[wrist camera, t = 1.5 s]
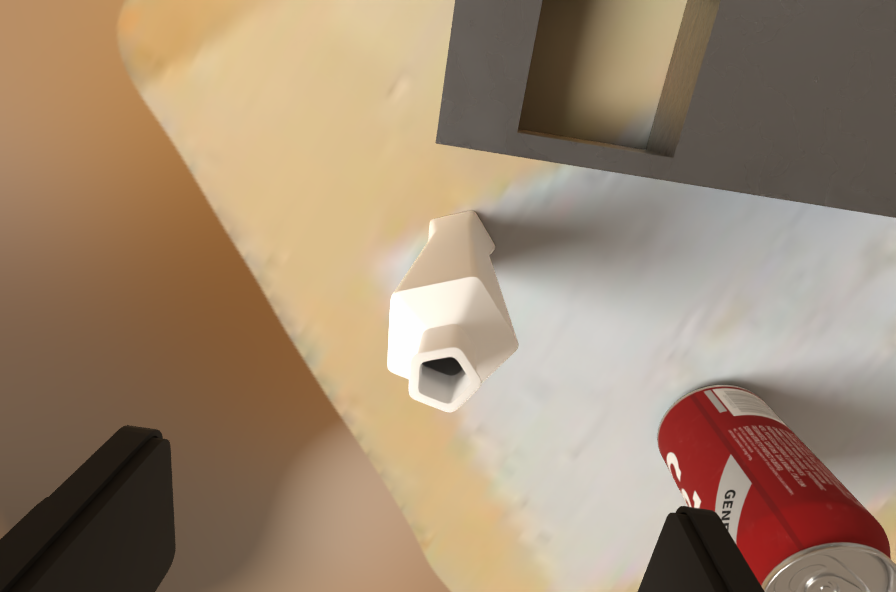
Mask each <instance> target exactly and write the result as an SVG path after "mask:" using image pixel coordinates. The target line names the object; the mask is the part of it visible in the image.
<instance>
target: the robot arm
mask: <svg viewBox="0 0 896 592" xmlns="http://www.w3.org/2000/svg"><path fill="white" fill-rule="evenodd" d="M171 470H172V469H171V450H170V442H169V441H168V440H167V439H163V438H162V434H161V432H160V431H159V430H156V429H150V428H142V427H136V426H129V425H127V426H123V427H122V428H120V429H119V430H118V431H117V432H116V433H115V434H114V435H113V436H112V437H111V438H110V439H109V440H108V441H107V442H105V443H104V444H103V445H102V446H101V447H100V448H99V449H98V450H97V451H96V452H95V453H94V454H93V455H92V456H91V457H90V458H89V459H88V460H87V461H86V462H85V463H84V464H83V465H82V466H80V467H79V468H78V469H77V470H76V471H75V472H74V473H73V474H72V475H71V476H70V477H69V478H68V479H67V480H66V481H65V482H64V483H63V484H62V485H61V486H60V487H58V488H57V489H56V490H55V492H53V493H52V494H51V495H50V496H49V497H47V498H45V499H44V500H43V501H41V502H40V503H39V504H37V505H36V506H35V507H34V508H33V509H32V510H31V511H30V512H29V513H28V514H27V515H26V516H25V517H24V518H22V519H21V521H19V522H18V523H17V524H16V525H15V526H14V527H13V528H12V529H11V530H10V531H9V532H8V533H7V534H6V535H5V536H4V537H3V538H1V539H0V592H155V591H156V589H157V588H158V586H159V585H160V583H161V581H162V580H163V578H164V577H165V575H166V573H167V572H168V570H169V568H170V566H171V564H172V562H173V558H174V554H175V529H174V508H173V489H172V471H171ZM638 592H765V591H764V590H763V588H762V586H761V585H760V583H759V581H758V580H757V578H756V576H755V575H754V573H753V571H752V570H751V568H750V567H749V565H748V563H747V562H746V560H745V558H744V557H743V555H742V553H741V552H740V550H739V548H738V547H737V545H736V543H735V542H734V540H733V538H732V537H731V535H730V533H729V532H728V530H727V528H726V527H725V525H724V523H723V522H722V520H721V518H720V517H719V516H718V514H717V513H716V512H714V511H713V510H707V509H701V508H694V507H687V506H681V507H679V508H678V509H677V511H676V513H670V514H669V515H668V516H667V518H666V521H665V523H664V526H663V528H662V531H661V533H660V536H659V539H658V541H657V544H656V546H655V549H654V551H653V554H652V557H651V559H650V562H649V564H648V567H647V569H646V572H645V574H644V577H643V580H642V582H641V585H640V587H639V590H638Z"/></svg>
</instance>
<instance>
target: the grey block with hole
mask: <svg viewBox="0 0 896 592" xmlns="http://www.w3.org/2000/svg"><path fill="white" fill-rule="evenodd" d="M541 6H542V0H455V7H454V14H453V21H452V28H451V36H450V43H449V50H448V57H447V65H446V72H445V79H444V87H443V94H442V101H441V108H440V116H439V123H438V130H437V137H436V143H437V144H443V145H450V146H456V147H462V148H468V149H474V150H481V151H487V152H493V153H499V154H505V155H511V156H518V157H524V158H530V159H536V160H542V161H548V162H555V163H561V164H567V165H573V166H579V167H586V168H592V169H598V170H604V171H610V172H616V173H623V174H629V175H635V176H641V177H647V178H654V179H660V180H666V181H672V182H678V183H684V184H691V185H697V186H703V187H709V188H715V189H722V190H728V191H734V192H740V193H746V194H752V195H759V196H765V197H771V198H777V199H783V200H790V201H796V202H802V203H808V204H814V205H820V206H827V207H833V208H839V209H845V210H851V211H857V212H864V213H870V214H876V215H882V216H888V217H895V218H896V0H688V1H687V4H686V8H685V11H684V15H683V19H682V22H681V26H680V29H679V33H678V36H677V40H676V44H675V47H674V51H673V54H672V58H671V62H670V65H669V69H668V72H667V76H666V79H665V83H664V87H663V90H662V94H661V97H660V101H659V104H658V108H657V112H656V115H655V119H654V122H653V126H652V130H651V133H650V137H649V140H648V144H647V147H646V150H645V149H638V148H632V147H626V146H620V145H614V144H608V143H601V142H595V141H589V140H583V139H577V138H571V137H564V136H558V135H552V134H546V133H540V132H534V131H527V130H521V129H518V126H519V121H520V116H521V110H522V105H523V100H524V95H525V89H526V84H527V79H528V74H529V68H530V63H531V58H532V53H533V48H534V42H535V37H536V32H537V27H538V21H539V16H540V11H541Z"/></svg>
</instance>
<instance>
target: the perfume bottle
mask: <svg viewBox="0 0 896 592" xmlns="http://www.w3.org/2000/svg"><path fill="white" fill-rule="evenodd" d="M494 250H495V245H494V243H493V241H492V239H491V238H490V236H489V234H488V232H487V231H486V229H485V227H484V226H483V224H482V222H481V221H480V219H479V217H478V215H477V214H476V213H475V212H474V211H466V212H462V213H457V214H453V215H448V216H444V217H439V218H435V219H432V220H431V221H430V227H429V241H428V242H427V244H426V245H425V247H424V248H423V250H422V251H421V253H420V254H419V256H418V257H417V259H416V260H415V262H414V263H413V265H412V266H411V268H410V269H409V271H408V272H407V274H406V275H405V277H404V278H403V280H402V281H401V283H400V284H399V286H398V287H397V289H396V290H395V292H394V293H393V295H392V296H391V300H390V320H389V340H388V361H387V365H388V369H389V370H390V371H391V372H392V373H394V374H397V375H399V376H402V377H404V378H407V379H409V395H410V396H411V397H412V398H413V399H415V400H417V401H419V402H422V403H424V404H427V405H429V406H432V407H435V408H437V409H440V410H442V411H445V412H454V411H455V410H457V409H458V408H459V407H460V406H461V405H462V404H463V403H465V402H466V401H467V400H468V399H469V398H470V397H471V396H472V395H473V394H474V393H475V392H476V391H477V390H478V389H479V388H480V386H481V384H482V383H483V382H484V381H485V380H486V379H487V378H488V377H489V376H490V375H491V374H492V373H493V372H494V371H495V370H496V369H497V368H498V367H499V366H500V365H501V364H503V363H504V362H505V361H506V360H507V359H508V358H509V357H510V356H511V355H512V354H513V353H514V352H515V351H516V350H517V348H518V341H517V338H516V335H515V332H514V329H513V326H512V323H511V320H510V317H509V314H508V311H507V308H506V305H505V302H504V299H503V296H502V292H501V289H500V286H499V283H498V280H497V277H496V274H495V271H494V268H493V265H492V262H491V259H490V254H491V253H492V252H493V251H494Z"/></svg>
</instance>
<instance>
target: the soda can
mask: <svg viewBox="0 0 896 592" xmlns="http://www.w3.org/2000/svg"><path fill="white" fill-rule="evenodd" d="M657 441H658V448H659V451H660V453H661V455H662V457H663V459H664V461H665V463H666V465H667V467H668V469H669V471H670V473H671V474H672V476H673V478H674V480H675V482H676V484H677V486H678V488H679V490H680V492H681V494H682V496H683V498H684V499H685V501H686V503H687V505H688V507H694V508H701V509H707V510H713V511H714V512H716V513H717V514H718V516H719V517H720V518H721V520H722V522H723V523H724V525H725V527H726V528H727V530H728V532H729V533H730V535H731V537H732V538H733V540H734V542H735V543H736V545H737V547H738V548H739V550H740V552H741V553H742V555H743V557H744V558H745V560H746V562H747V563H748V565H749V567H750V568H751V570H752V571H753V573H754V575H755V576H756V578H757V580H758V581H759V583H760V585H761V586H762V588H763V590H764V591H765V592H896V564H895V563H894V562H893V561H892V560H891V557H890V546H889V541H888V538H887V535H886V533H885V531H884V529H883V528H882V526H881V525H880V524H879V522H878V521H877V520H876V519H875V518H874V517H873V516H872V515H871V514H870V513H869V512H868V511H867V510H866V509H865V507H864V506H863V505H862V504H861V503H860V502H859V501H858V500H857V499H856V498H855V497H854V496H853V495H852V494H851V493H850V492H849V491H848V490H847V489H846V487H845V486H844V485H843V484H842V483H841V482H840V481H839V480H838V479H837V478H836V477H835V476H834V475H833V474H832V473H831V472H830V471H829V470H828V469H827V467H826V466H825V465H824V464H823V463H822V462H821V461H820V460H819V459H818V458H817V457H816V456H815V455H814V454H813V453H812V452H811V451H810V450H809V449H808V447H807V446H806V445H805V444H804V443H803V442H802V441H801V440H800V439H799V438H798V437H797V436H796V435H795V434H794V433H793V432H792V431H791V430H790V429H789V428H788V426H787V425H786V424H785V423H784V422H783V421H782V420H781V419H780V418H779V417H778V416H777V415H776V414H775V413H774V412H773V411H772V410H771V409H770V408H769V406H768V405H767V404H766V403H765V402H764V401H763V400H762V399H761V398H760V397H758V396H757V395H756V394H754V393H753V392H751V391H749V390H746V389H744V388H741V387H737V386H732V385H713V386H708V387H703V388H700V389H697V390H695V391H692V392H690V393H688V394H686V395H685V396H683V397H682V398H680V399H679V400H677V401H676V402H675V403H674V404H673V405H672V406H671V407H670V408H669V409H668V411H667V412H666V413H665V415H664V416H663V418H662V420H661V422H660V425H659V428H658V434H657Z"/></svg>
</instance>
